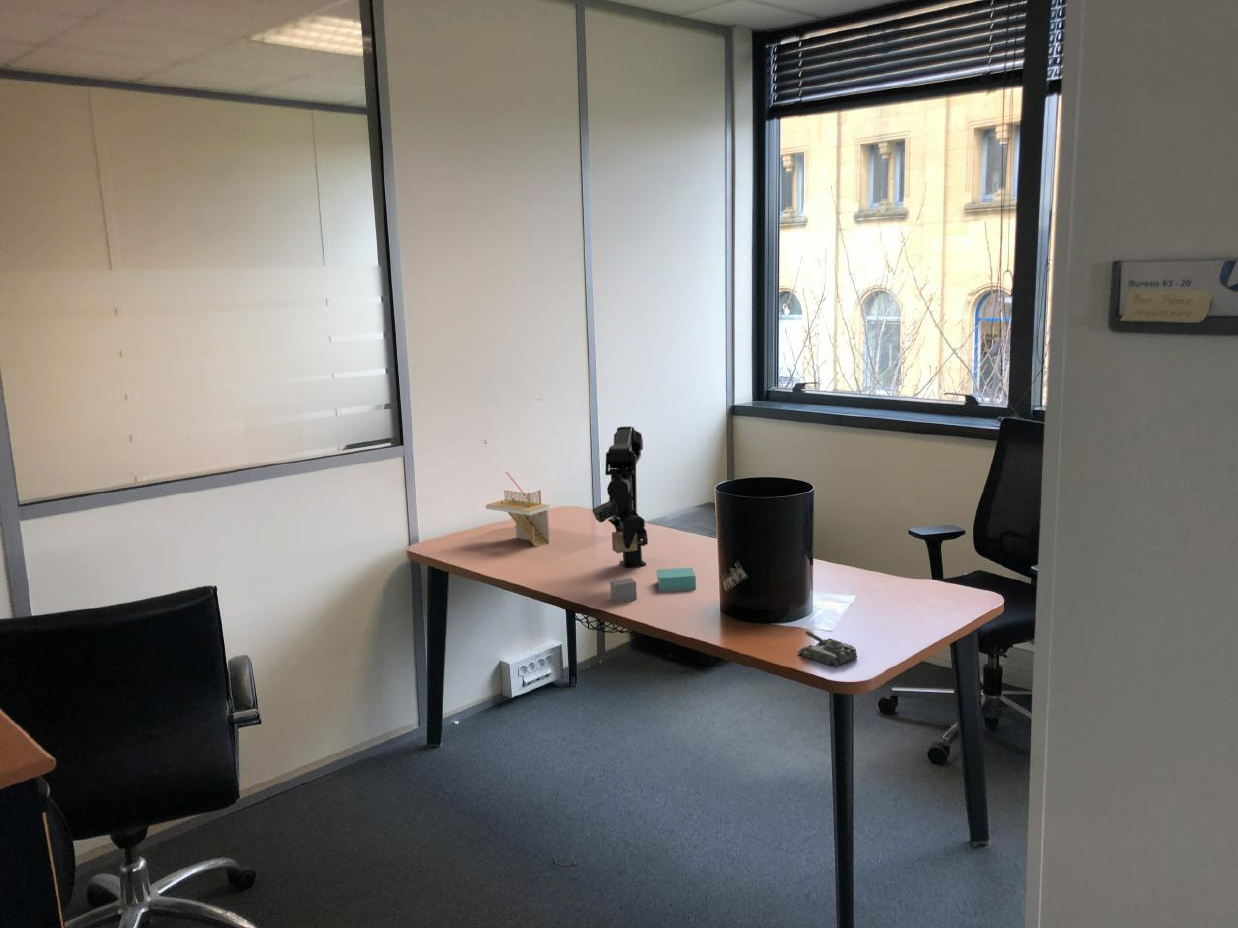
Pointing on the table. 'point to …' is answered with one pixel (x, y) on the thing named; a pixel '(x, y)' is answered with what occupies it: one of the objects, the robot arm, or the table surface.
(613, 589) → the charcoal brick
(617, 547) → the walnut brick
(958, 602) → the table surface
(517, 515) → the architectural model
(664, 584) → the teal brick
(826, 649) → the tank toy
